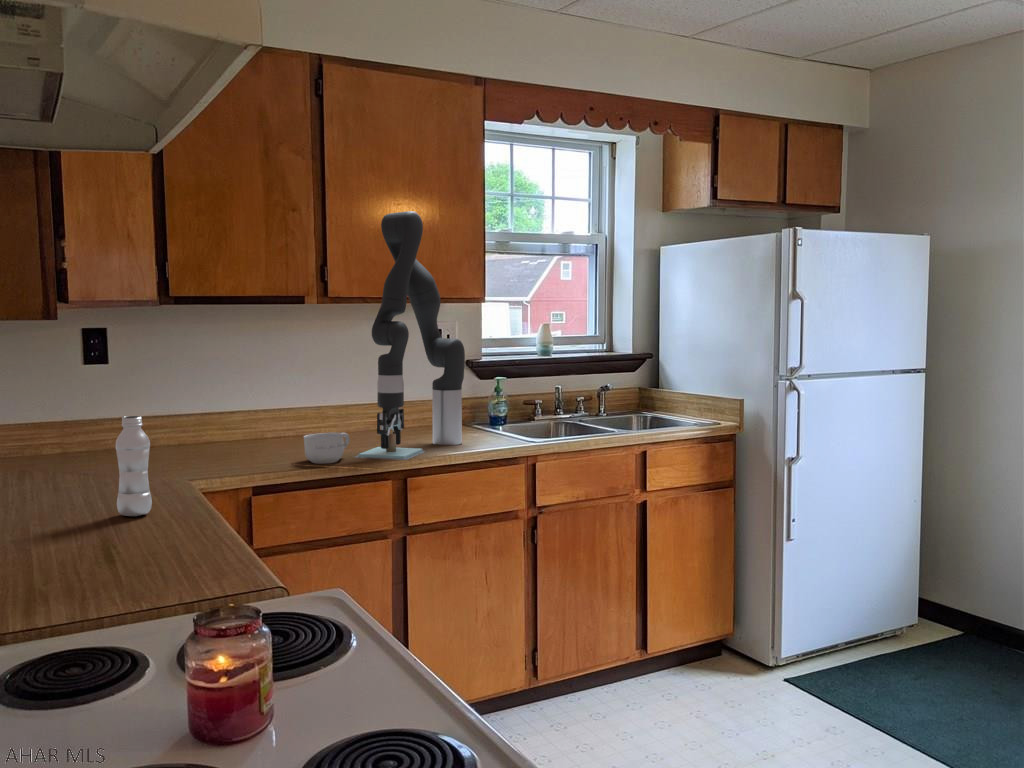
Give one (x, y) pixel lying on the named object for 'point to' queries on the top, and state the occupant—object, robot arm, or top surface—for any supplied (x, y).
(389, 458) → the mat
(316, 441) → the teacup
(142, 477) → the plastic bottle
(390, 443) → the lid
